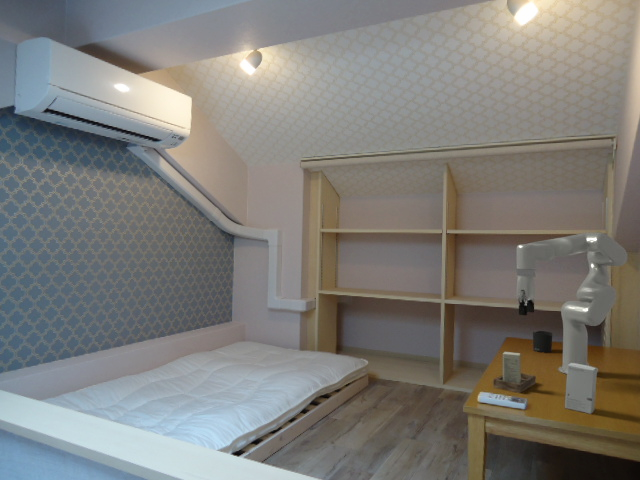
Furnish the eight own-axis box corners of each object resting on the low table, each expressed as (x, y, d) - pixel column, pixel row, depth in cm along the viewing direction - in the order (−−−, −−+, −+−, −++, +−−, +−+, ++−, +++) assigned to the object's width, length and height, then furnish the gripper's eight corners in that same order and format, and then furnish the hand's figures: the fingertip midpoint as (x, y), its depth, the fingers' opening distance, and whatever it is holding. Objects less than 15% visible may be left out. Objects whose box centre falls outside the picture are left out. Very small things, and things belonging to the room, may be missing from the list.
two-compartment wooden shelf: (535, 383, 189) (535, 375, 189) (519, 393, 176) (520, 385, 176) (510, 378, 196) (510, 371, 196) (493, 387, 182) (493, 379, 183)
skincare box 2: (564, 408, 160) (565, 364, 160) (569, 404, 165) (569, 361, 165) (592, 414, 155) (593, 369, 155) (596, 410, 159) (597, 366, 159)
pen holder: (530, 348, 256) (530, 330, 256) (548, 349, 255) (548, 331, 255) (535, 352, 247) (536, 333, 247) (554, 353, 245) (555, 334, 245)
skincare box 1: (521, 384, 183) (521, 353, 183) (519, 387, 179) (520, 355, 179) (503, 381, 186) (504, 351, 186) (502, 384, 182) (502, 353, 182)
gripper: (523, 271, 208) (523, 310, 208) (510, 274, 195) (510, 315, 195) (541, 272, 204) (541, 311, 204) (529, 275, 190) (529, 317, 190)
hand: (526, 313), depth 199 cm, fingers open, 9 cm apart
